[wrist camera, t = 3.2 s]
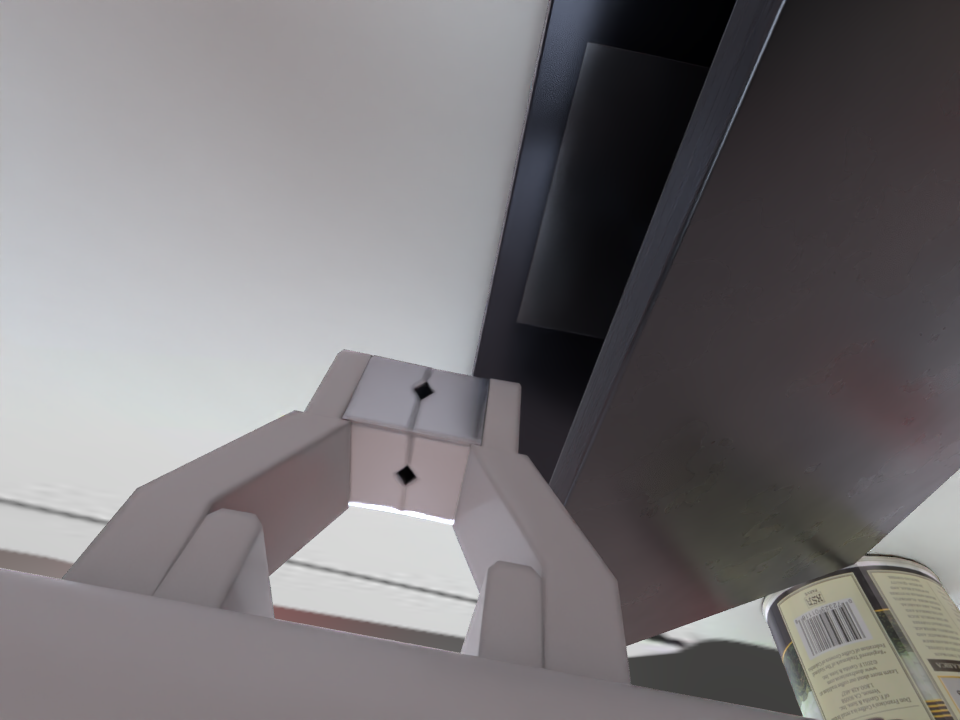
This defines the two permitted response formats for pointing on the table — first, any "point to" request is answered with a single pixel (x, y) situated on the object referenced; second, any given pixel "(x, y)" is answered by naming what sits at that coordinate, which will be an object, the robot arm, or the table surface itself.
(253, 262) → the table surface
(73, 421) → the table surface
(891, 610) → the coffee can
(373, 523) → the table surface
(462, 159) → the table surface
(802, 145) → the laptop screen
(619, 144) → the laptop
